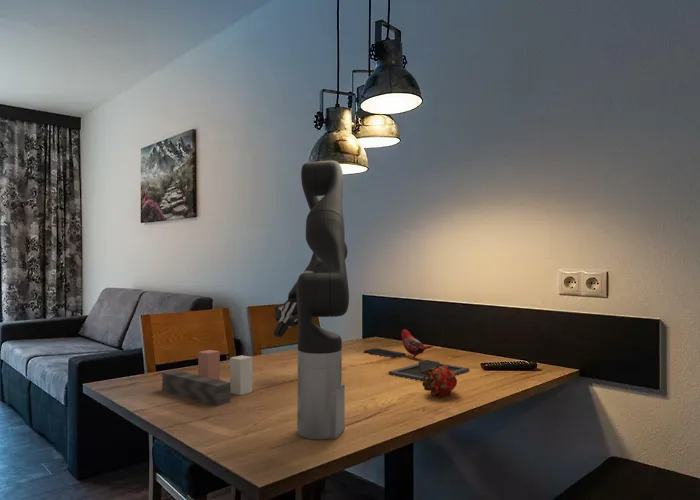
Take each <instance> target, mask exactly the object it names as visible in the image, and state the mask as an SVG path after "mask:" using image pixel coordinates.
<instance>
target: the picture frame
mask: <svg viewBox="0 0 700 500" xmlns="http://www.w3.org/2000/svg"><path fill="white" fill-rule="evenodd" d="M443 365H444V366H447V367H448V368H449V369H451V370H452V371H453V372H454V373H455V375H457V376H459V374H460V375H462V374H461V373H463V374H466V373H468V372H467V371H469V372H470V368H469V367H465V366H464V367H463V366H457V365H453V364H452V365H451V364H445V363H441V362H439V361H433V360H431V359H430V360H428V359H426V360H425V359H424V360H422V361H418V363H416V364H411V365H407V366H404V367H400V368H397V369H393V370H389V371H388V375H389V374H390V375H389V376H393V375H395V376H394V377H398V376H399V378H402V377H405V378H404V379H407V378H410V379H409V380H412V379H415V380H414V381H417V380H420V381H419V382H422V381H423V377H424V376H425V374H424V372H425V370H429V369H430V368H434V367H436V366H443ZM465 372H466V373H465Z"/></svg>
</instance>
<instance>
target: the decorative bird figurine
mask: <svg viewBox="0 0 700 500" xmlns="http://www.w3.org/2000/svg"><path fill="white" fill-rule="evenodd" d="M400 335H401V339H402V344H403V346H404V349H405V350H406V352H407V353H408V354H410V355H412V356H409V355H408V356H407V357H408V358H410V359H411V360H415V359H416V360H418V359H417V356H418V355H420V354H422V353H424V352H425V350H428V349H431V348H434V345H424V343H422V342H421V341H419V340H418V339H417V338H415V337H414V336H412V334H411V332H410V331H409V330H407V329H406V328H405V329H402V331H401V333H400Z"/></svg>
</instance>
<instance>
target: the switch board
mask: <svg viewBox="0 0 700 500" xmlns="http://www.w3.org/2000/svg"><path fill="white" fill-rule="evenodd" d="M161 379H162V381H161V383H162V385H161V387H162V388H161V389H162V392H164V393H168V394H172V395H176V396H179V397H181V398H182V397H183V398H186V399H190V400H194V401H197V402H201V403H204V404H208V405H212V406H215V407H219V406H222V405H226V404H230V403H231V393H230V381H226V380H222V379H220V380H217V379H213V378H209V377H204V376H200V375H198V374H195V373H190V372H186V371H183V370H182V371H181V370H176V369H175V370H174V369H173V370H169V371H164V372H162V378H161Z"/></svg>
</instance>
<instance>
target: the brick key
mask: <svg viewBox="0 0 700 500" xmlns="http://www.w3.org/2000/svg"><path fill="white" fill-rule="evenodd" d="M197 353H198V354H197V355H198V357H197V358H198V361H197V362H198V365H197V367H198V368H197V369H198V370H197V371H198V372H197V373H198V374H197V375H200V376H204V377H209V378H213V379H217V380H221V378H220V375H221V373H220V365H221V363H220V360H221V359H220V355H221V354H220V353H221V352H220V351H219V350H213V349H207V350H202V351H198V352H197Z"/></svg>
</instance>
